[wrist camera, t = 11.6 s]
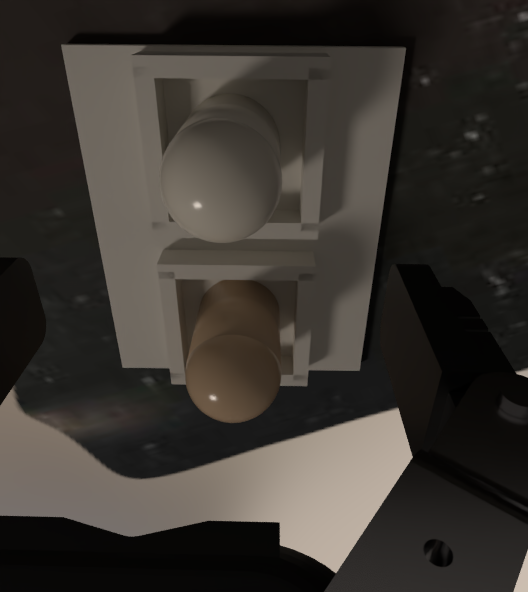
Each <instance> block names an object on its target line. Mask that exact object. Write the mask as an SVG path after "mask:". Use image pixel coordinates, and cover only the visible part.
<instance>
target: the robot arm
mask: <svg viewBox="0 0 528 592" xmlns="http://www.w3.org/2000/svg"><path fill="white" fill-rule="evenodd" d="M45 332H46V319H45V314H44V311H43V307H42V304H41V300H40V297H39V293H38V290H37V287H36V283H35V280H34V276H33V273H32V269H31V267H30V264H29V263H28V261H27V260H26V259H24V258H0V405H1V404H2V402H3V401H4V399H5V398H6V396H7V395H8V393H9V392H10V390H11V389H12V387H13V386H14V384H15V383H16V381H17V380H18V378H19V377H20V375H21V374H22V372H23V371H24V369H25V368H26V366H27V365H28V363H29V362H30V360H31V359H32V357H33V356H34V354H35V353H36V352H37V350H38V349H39V347H40V346H41V344H42V342H43V340H44V337H45ZM380 341H381V349H382V353H383V356H384V360H385V363H386V367H387V370H388V373H389V377H390V380H391V384H392V387H393V391H394V394H395V397H396V401H397V404H398V408H399V411H400V415H401V418H402V421H403V425H404V428H405V432H406V435H407V439H408V442H409V445H410V449H411V452H412V456H413V458H412V460H411V461H410V463H409V464H408V466H407V467H406V469H405V470H404V472H403V473H402V475H401V476H400V478H399V479H398V481H397V482H396V484H395V485H394V487H393V488H392V490H391V491H390V493H389V494H388V496H387V498H386V499H385V500H384V502H383V503H382V505H381V506H380V508H379V510H378V511H377V513H376V514H375V516H374V517H373V519H372V520H371V522H370V523H369V525H368V526H367V528H366V529H365V531H364V532H363V534H362V535H361V537H360V538H359V540H358V541H357V543H356V544H355V546H354V547H353V549H352V550H351V552H350V553H349V555H348V557H347V558H346V560H345V561H344V563H343V564H342V566H341V567H340V569H339V570H338V572H337V573H335V572H333V571H331V570H330V569H329V568H328V567H326V566H325V565H323V564H322V563H320V562H318V561H317V560H315V559H313V558H311V557H309V556H307V555H305V554H303V553H300V552H298V551H295V550H293V549H290V548H287V547H283V546H280V539H279V538H280V534H279V533H280V528H279V527H280V525H279V523H276V522H236V521H235V522H234V521H233V522H232V521H206V522H202V523H197V524H192V525H187V526H183V527H178V528H174V529H169V530H165V531H160V532H155V533H151V534H146V535H142V536H135V537H128V536H123V535H120V534H117V533H113V532H110V531H107V530H103V529H100V528H97V527H93V526H90V525H87V524H83V523H81V522H77V521H74V520H71V519H67V518H64V517H30V516H29V517H28V516H0V592H513V591H514V588H515V585H516V582H517V579H518V576H519V573H520V570H521V568H522V564H523V562H524V559H525V556H526V553H527V550H528V378H527V377H524V376H522V375H518V374H516V372H515V371H514V369H513V368H512V366H511V364H510V363H509V361H508V360H507V358H506V356H505V355H504V353H503V352H502V350H501V348H500V347H499V345H498V344H497V342H496V340H495V339H494V337H493V336H492V334H491V332H488V328H487V326H486V324H485V323H484V321H483V320H482V319H480V315H479V313H478V312H477V310H476V308H475V307H474V305H473V304H472V302H471V300H469V299H468V298H466V297H465V296H464V295H462V294H461V293H460V292H458V291H457V290H456V289H454V288H453V287H441V286H440V284H439V282H438V280H437V278H436V277H435V275H434V273H433V271H432V269H431V268H430V266H429V265H427V264H393V265H392V266H391V268H390V271H389V276H388V282H387V288H386V294H385V301H384V307H383V313H382V319H381V327H380Z"/></svg>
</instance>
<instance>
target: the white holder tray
mask: <svg viewBox="0 0 528 592" xmlns="http://www.w3.org/2000/svg"><path fill="white" fill-rule="evenodd" d="M61 46H62V52H63V57H64V62H65V67H66V73H67V78H68V83H69V88H70V94H71V99H72V104H73V109H74V115H75V120H76V125H77V130H78V136H79V141H80V146H81V151H82V157H83V162H84V167H85V172H86V177H87V183H88V188H89V193H90V198H91V204H92V209H93V214H94V219H95V225H96V230H97V235H98V240H99V246H100V251H101V256H102V261H103V267H104V272H105V277H106V282H107V288H108V293H109V298H110V303H111V309H112V314H113V319H114V324H115V330H116V335H117V340H118V345H119V351H120V356H121V361H122V366H123V368H170V375H171V383H172V384H186V380H185V370H186V363H187V359H188V354H189V350H190V346H191V341H192V337H193V333H194V328H195V324H196V319H197V315H198V311H199V306H200V303H201V300H202V298H203V296H204V294H205V293H206V291H207V290H208V289H209V288H211V287H212V286H213V285H215V284H216V283H218V282H220V281H223V280H254V281H256V282H259V283H261V284H262V285H264V286H265V287H267V288H268V289H269V290H270V291H271V292H272V293H273V295H274V296H275V298H276V299H277V302H278V304H279V309H280V339H281V383H280V386H307V381H308V370H344V371H360V364H361V357H362V350H363V343H364V336H365V329H366V322H367V315H368V308H369V301H370V295H371V288H372V281H373V274H374V267H375V260H376V253H377V246H378V239H379V232H380V225H381V219H382V212H383V205H384V198H385V191H386V184H387V177H388V170H389V163H390V156H391V149H392V142H393V136H394V129H395V122H396V115H397V108H398V101H399V94H400V87H401V80H402V73H403V66H404V60H405V53H406V48H405V47H388V46H276V45H163V44H63V45H61ZM228 93H232V94H239V95H244V96H246V97H249V98H251V99H253V100H255V101H257V102H258V103H259V104H261V105H262V106H263V107H264V108H265V109H266V110H267V111H268V112H269V113H270V115H271V116H272V118H273V119H274V121H275V123H276V125H277V128H278V131H279V135H280V144H281V164H282V191H281V196H280V200H279V203H278V205H277V208H276V210H275V211H274V213H273V215H272V217H271V218H270V219H269V221H268V222H267V223H266V224H265V225H264V226H263V227H262V228H261V229H260V230H258V231H257V232H256V233H254V234H252V235H251V236H249V237H247V238H245V239H242V240H239V241H235V242H229V243H215V242H209V241H205V240H202V239H199V238H197V237H195V236H193V235H191V234H189V233H188V232H186V231H185V230H184V229H182V228H181V227H180V226H179V225H178V224H177V223H176V222H175V221H174V219H173V218H172V217H171V216H170V214H169V212H168V211H167V209H166V207H165V204H164V202H163V199H162V196H161V193H160V187H159V171H160V165H161V161H162V158H163V155H164V153H165V151H166V149H167V147H168V145H169V143H170V142H171V141H172V139H173V138H174V136H175V135H176V134H177V132H178V131H179V129H180V128H181V127H182V125H183V124H184V123H185V121H186V120H187V118H188V117H189V116H190V114H191V113H192V112H193V110H194V109H195V108H196V107H197V106H198V105H199V104H200V103H202V102H203V101H205V100H206V99H208V98H210V97H213V96H216V95H220V94H228Z"/></svg>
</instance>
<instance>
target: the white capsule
mask: <svg viewBox="0 0 528 592" xmlns="http://www.w3.org/2000/svg"><path fill="white" fill-rule="evenodd" d="M159 187H160V193H161V196H162V199H163V202H164V204H165V207H166V209H167V211H168V212H169V214H170V216H171V217H172V218H173V219H174V221H175V222H176V223H177V224H178V225H179V226H180V227H181V228H182V229H184V230H185V231H186V232H188V233H189V234H191V235H193V236H195V237H197V238H199V239H202V240H205V241H209V242H215V243H229V242H235V241H239V240H242V239H245V238H247V237H249V236H251V235H252V234H254V233H256V232H257V231H258V230H260V229H261V228H262V227H263V226H264V225H265V224H266V223H267V222H268V221H269V219H270V218H271V217H272V215H273V213H274V211H275V210H276V208H277V205H278V203H279V200H280V196H281V191H282V164H281V144H280V135H279V131H278V128H277V125H276V123H275V121H274V119H273V118H272V116H271V115H270V113H269V112H268V111H267V110H266V109H265V108H264V107H263V106H262V105H261V104H259V103H258V102H257V101H255V100H253V99H251V98H249V97H246V96H244V95H239V94H232V93H228V94H220V95H216V96H213V97H210V98H208V99H206V100H205V101H203V102H202V103H200V104H199V105H198V106H197V107H196V108H195V109H194V110H193V112H192V113H191V114H190V116H189V117H188V118H187V120H186V121H185V123H184V124H183V125H182V127H181V128H180V129H179V131H178V132H177V134H176V135H175V136H174V138H173V139H172V141H171V142H170V143H169V145H168V147H167V149H166V151H165V153H164V155H163V158H162V161H161V165H160V171H159Z"/></svg>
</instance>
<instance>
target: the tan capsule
mask: <svg viewBox="0 0 528 592" xmlns="http://www.w3.org/2000/svg"><path fill="white" fill-rule="evenodd" d="M185 380H186V386H187V390H188V392H189V395H190V397H191V399H192V400H193V402H194V403H195V405H196V406H197V407H198V408H199V409H200V410H201V411H202V412H203V413H205V414H206V415H208V416H209V417H211V418H213V419H215V420H218V421H222V422H227V423H238V422H244V421H247V420H250V419H253V418H255V417H257V416H258V415H260V414H261V413H262V412H264V411H265V410H266V409H267V408H268V407H269V406H270V405H271V403H272V402H273V400H274V399H275V397H276V395H277V393H278V390H279V387H280V383H281V339H280V309H279V304H278V302H277V299H276V298H275V296H274V295H273V293H272V292H271V291H270V290H269V289H268V288H267V287H265V286H264V285H262V284H261V283H259V282H256V281H254V280H223V281H220V282H218V283H216V284H215V285H213V286H212V287H211V288H209V289H208V290H207V291H206V293H205V294H204V296H203V298H202V300H201V303H200V306H199V311H198V315H197V319H196V324H195V328H194V333H193V337H192V341H191V346H190V350H189V354H188V359H187V363H186V370H185Z"/></svg>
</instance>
